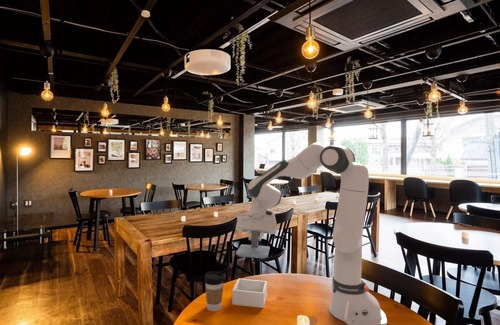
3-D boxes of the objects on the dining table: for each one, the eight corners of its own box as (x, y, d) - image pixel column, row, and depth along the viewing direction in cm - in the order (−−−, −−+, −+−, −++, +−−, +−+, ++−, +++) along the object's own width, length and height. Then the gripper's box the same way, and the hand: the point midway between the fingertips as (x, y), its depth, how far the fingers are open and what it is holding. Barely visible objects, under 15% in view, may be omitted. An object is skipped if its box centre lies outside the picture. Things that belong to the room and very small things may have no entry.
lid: (269, 250, 129) (269, 231, 129) (266, 259, 117) (267, 239, 117) (241, 248, 131) (241, 230, 131) (235, 257, 120) (236, 237, 120)
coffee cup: (207, 303, 120) (207, 269, 120) (225, 304, 119) (226, 271, 119) (201, 313, 112) (201, 278, 112) (221, 315, 111) (221, 279, 110)
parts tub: (266, 295, 127) (267, 281, 127) (263, 309, 116) (263, 293, 116) (238, 292, 130) (238, 278, 130) (232, 305, 118) (232, 290, 118)
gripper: (237, 210, 137) (232, 235, 127) (277, 212, 133) (275, 238, 124) (238, 217, 141) (234, 241, 132) (277, 219, 138) (276, 244, 128)
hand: (254, 240), depth 128 cm, fingers closed on lid, 3 cm apart
